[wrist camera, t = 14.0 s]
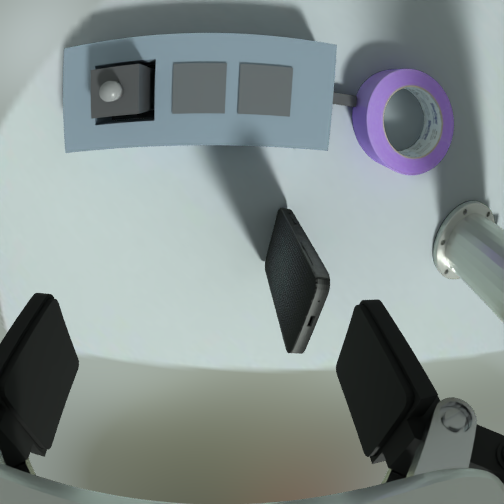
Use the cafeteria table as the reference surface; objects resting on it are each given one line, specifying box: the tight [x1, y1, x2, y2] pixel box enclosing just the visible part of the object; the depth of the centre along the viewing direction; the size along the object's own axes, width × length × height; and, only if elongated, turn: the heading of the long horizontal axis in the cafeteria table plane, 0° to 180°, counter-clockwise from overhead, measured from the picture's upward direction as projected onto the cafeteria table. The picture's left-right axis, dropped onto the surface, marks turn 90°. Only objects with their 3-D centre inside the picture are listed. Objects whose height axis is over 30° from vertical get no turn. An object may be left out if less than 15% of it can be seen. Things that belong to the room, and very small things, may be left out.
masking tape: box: [352, 69, 454, 175], centre depth 30 cm, size 12×12×4 cm
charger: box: [91, 64, 155, 119], centre depth 23 cm, size 4×4×9 cm
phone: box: [265, 208, 330, 353], centre depth 30 cm, size 8×1×15 cm, turn 168°
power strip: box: [63, 33, 357, 153], centre depth 26 cm, size 28×10×5 cm, turn 87°
